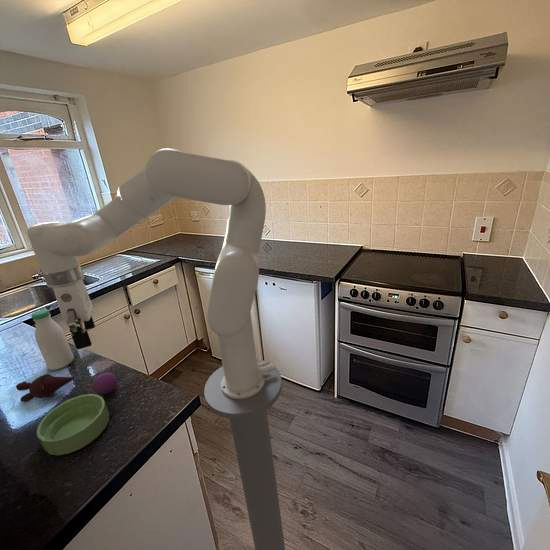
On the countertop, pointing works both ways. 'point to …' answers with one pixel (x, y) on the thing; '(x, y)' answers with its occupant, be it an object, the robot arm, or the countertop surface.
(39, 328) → the milk bottle
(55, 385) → the brown gnome figurine
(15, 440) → the countertop surface
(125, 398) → the countertop surface
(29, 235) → the robot arm
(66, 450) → the bowl
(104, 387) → the ball
